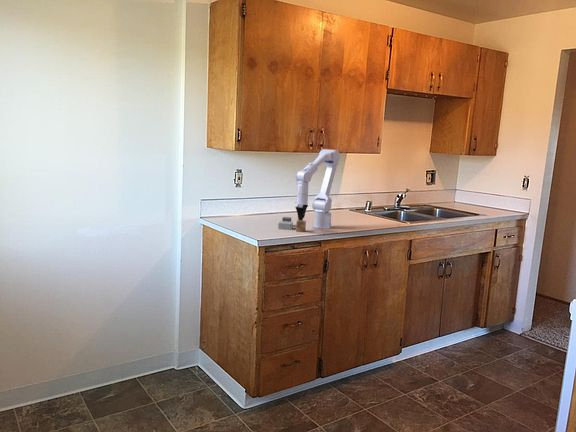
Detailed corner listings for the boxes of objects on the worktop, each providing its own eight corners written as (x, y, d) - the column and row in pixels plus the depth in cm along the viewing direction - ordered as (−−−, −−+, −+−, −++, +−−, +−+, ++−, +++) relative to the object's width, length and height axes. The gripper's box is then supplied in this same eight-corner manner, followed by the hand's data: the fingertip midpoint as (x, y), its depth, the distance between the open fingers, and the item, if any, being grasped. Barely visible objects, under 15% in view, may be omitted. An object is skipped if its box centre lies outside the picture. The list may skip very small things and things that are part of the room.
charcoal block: (291, 225, 278) (291, 217, 278) (290, 226, 274) (290, 218, 273) (283, 224, 279) (283, 216, 278) (282, 226, 274) (282, 218, 274)
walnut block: (305, 230, 265) (305, 220, 264) (304, 232, 260) (305, 221, 260) (297, 229, 265) (297, 219, 265) (296, 231, 261) (296, 221, 260)
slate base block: (292, 227, 272) (292, 221, 271) (291, 230, 265) (291, 224, 264) (279, 227, 272) (280, 221, 272) (278, 229, 265) (278, 223, 265)
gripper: (296, 191, 267) (295, 216, 269) (293, 194, 253) (292, 220, 255) (309, 192, 266) (308, 217, 268) (307, 195, 252) (305, 221, 254)
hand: (301, 218), depth 262 cm, fingers open, 7 cm apart
